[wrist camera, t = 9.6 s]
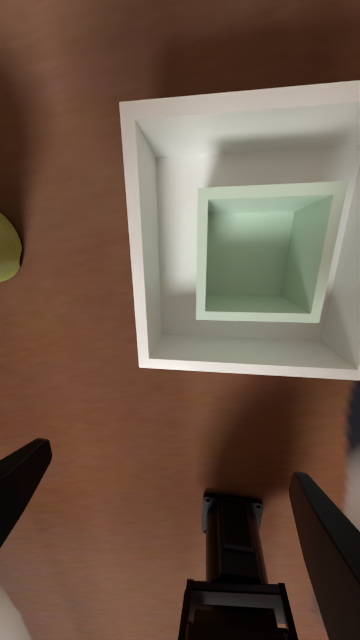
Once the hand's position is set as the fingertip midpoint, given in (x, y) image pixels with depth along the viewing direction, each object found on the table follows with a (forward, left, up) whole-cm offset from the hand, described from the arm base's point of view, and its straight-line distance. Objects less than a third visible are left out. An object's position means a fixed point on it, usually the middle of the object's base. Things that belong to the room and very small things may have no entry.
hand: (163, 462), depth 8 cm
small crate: (+7, -4, -11) cm, 13 cm away
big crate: (+7, -4, -12) cm, 14 cm away
